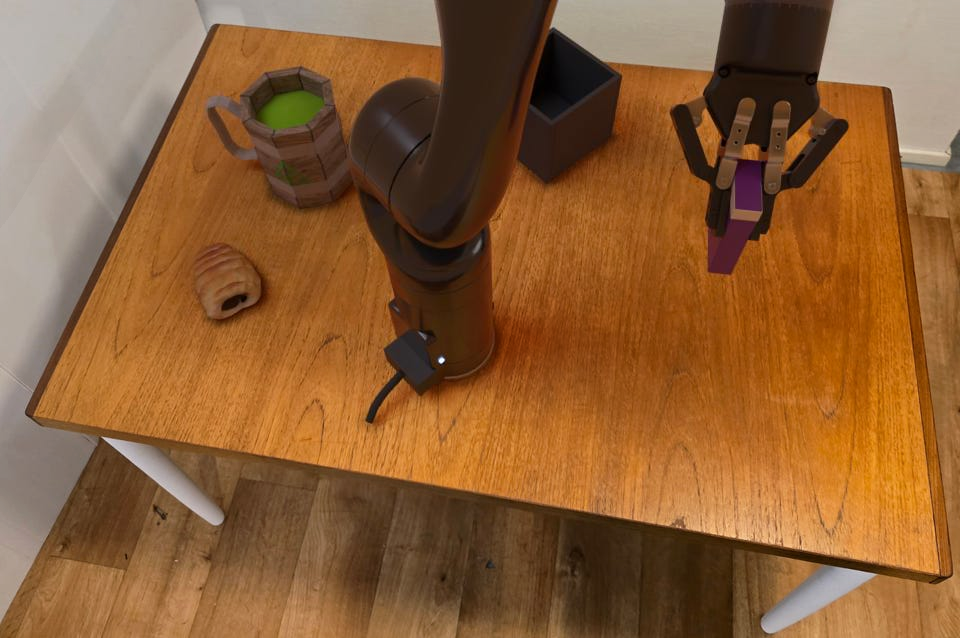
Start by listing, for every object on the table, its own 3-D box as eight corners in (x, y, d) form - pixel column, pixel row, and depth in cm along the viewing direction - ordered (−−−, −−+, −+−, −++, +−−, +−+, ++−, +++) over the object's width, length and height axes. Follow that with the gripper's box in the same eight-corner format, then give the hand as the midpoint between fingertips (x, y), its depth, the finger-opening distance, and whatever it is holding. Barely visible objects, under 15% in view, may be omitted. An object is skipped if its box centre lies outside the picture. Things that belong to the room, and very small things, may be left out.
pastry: (185, 265, 85) (172, 246, 82) (240, 240, 86) (230, 220, 83) (213, 327, 81) (201, 309, 77) (271, 300, 82) (262, 281, 79)
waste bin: (547, 184, 89) (551, 125, 81) (484, 133, 93) (482, 72, 85) (611, 136, 93) (622, 75, 84) (549, 89, 97) (553, 26, 88)
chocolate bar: (706, 273, 64) (734, 208, 56) (707, 225, 66) (734, 157, 59) (731, 276, 64) (763, 211, 56) (731, 228, 66) (761, 159, 58)
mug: (365, 145, 93) (348, 70, 82) (343, 214, 88) (321, 143, 77) (246, 131, 95) (214, 56, 84) (217, 198, 90) (179, 127, 79)
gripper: (689, -9, 52) (651, 235, 57) (895, 6, 51) (838, 255, 56) (676, 5, 59) (643, 221, 64) (856, 19, 58) (809, 239, 63)
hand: (734, 236), depth 60 cm, fingers closed on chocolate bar, 2 cm apart
